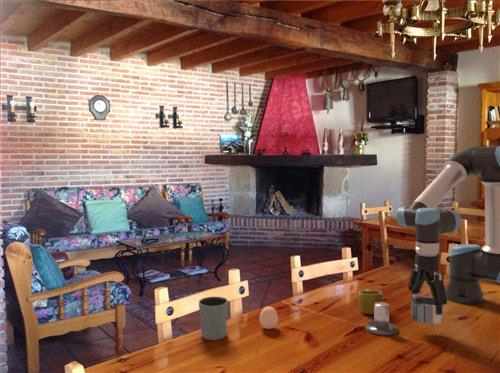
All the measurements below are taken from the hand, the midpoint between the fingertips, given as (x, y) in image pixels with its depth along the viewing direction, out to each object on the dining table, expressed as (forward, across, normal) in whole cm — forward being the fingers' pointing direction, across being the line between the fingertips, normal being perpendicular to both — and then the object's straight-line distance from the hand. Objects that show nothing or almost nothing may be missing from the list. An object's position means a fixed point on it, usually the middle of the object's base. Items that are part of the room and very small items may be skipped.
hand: (426, 317), depth 155 cm
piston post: (+6, -8, -13) cm, 16 cm away
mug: (+6, -26, -7) cm, 27 cm away
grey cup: (+4, -20, -71) cm, 74 cm away
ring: (0, 0, 0) cm, 0 cm away
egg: (+5, -20, -51) cm, 55 cm away
